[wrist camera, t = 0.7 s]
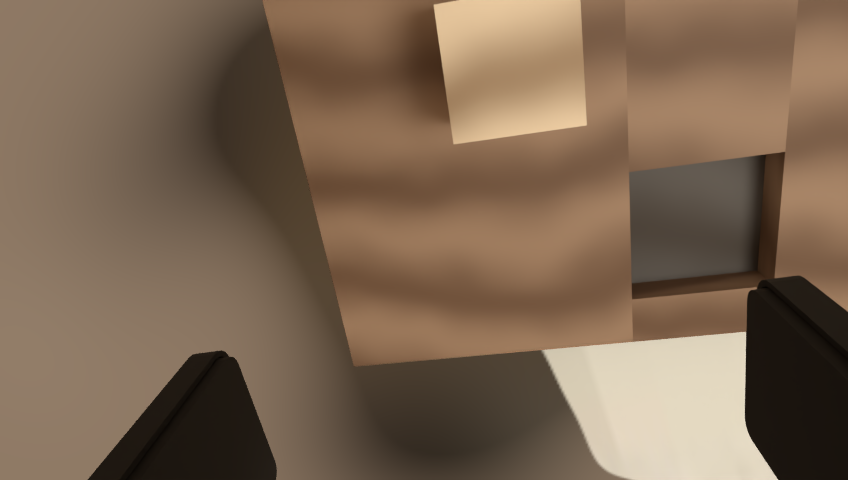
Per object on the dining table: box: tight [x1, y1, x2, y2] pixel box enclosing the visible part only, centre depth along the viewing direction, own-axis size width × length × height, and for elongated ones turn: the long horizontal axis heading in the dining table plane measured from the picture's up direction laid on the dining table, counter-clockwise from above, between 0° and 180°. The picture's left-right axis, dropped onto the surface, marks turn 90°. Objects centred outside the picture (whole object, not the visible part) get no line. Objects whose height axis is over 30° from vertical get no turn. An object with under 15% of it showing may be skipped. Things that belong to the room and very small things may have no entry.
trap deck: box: [262, 0, 848, 366], centre depth 30 cm, size 24×52×2 cm, turn 99°
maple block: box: [434, 0, 587, 144], centre depth 26 cm, size 6×6×5 cm
